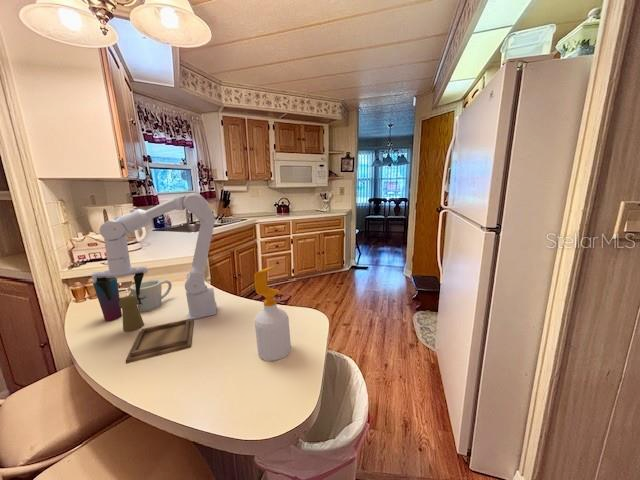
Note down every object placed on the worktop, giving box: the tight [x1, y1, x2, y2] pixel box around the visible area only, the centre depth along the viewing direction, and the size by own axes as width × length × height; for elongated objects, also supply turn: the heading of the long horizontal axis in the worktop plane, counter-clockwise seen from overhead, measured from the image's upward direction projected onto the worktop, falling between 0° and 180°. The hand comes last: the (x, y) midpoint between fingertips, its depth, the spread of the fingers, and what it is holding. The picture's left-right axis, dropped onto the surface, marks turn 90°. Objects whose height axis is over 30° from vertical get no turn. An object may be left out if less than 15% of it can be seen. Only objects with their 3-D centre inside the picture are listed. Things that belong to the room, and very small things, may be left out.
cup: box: [92, 277, 123, 322], centre depth 97 cm, size 7×7×15 cm
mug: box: [129, 278, 172, 312], centre depth 106 cm, size 10×15×10 cm
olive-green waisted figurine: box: [119, 295, 145, 333], centre depth 89 cm, size 6×6×11 cm
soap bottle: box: [253, 265, 292, 362], centre depth 71 cm, size 9×9×25 cm
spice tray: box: [125, 318, 195, 364], centre depth 82 cm, size 16×16×2 cm
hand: (124, 296), depth 88 cm, fingers open, 7 cm apart
